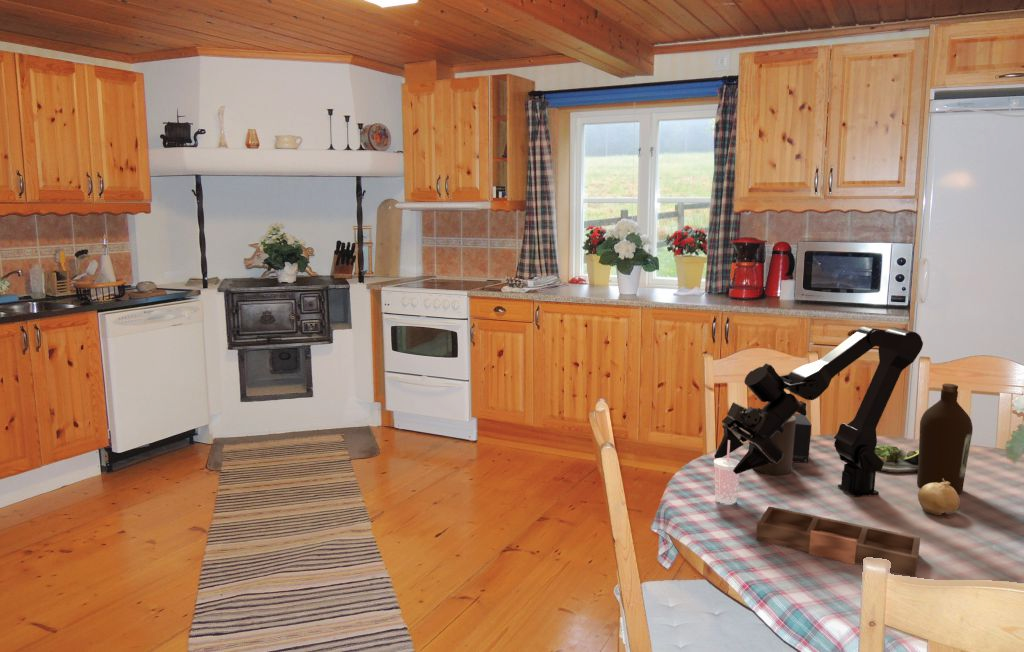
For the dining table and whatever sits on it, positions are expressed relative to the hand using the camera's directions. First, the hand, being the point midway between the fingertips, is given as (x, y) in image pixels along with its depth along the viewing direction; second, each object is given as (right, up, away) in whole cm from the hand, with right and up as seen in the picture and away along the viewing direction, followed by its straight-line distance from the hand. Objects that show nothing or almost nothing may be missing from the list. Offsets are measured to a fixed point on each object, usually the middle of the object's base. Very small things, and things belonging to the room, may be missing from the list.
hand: (724, 465), depth 170 cm
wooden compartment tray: (+16, -12, -21) cm, 29 cm away
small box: (+27, -4, +32) cm, 42 cm away
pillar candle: (+18, -5, +22) cm, 29 cm away
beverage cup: (+1, -8, +2) cm, 9 cm away
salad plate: (+51, -5, +27) cm, 58 cm away
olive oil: (+53, -7, +10) cm, 55 cm away
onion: (+45, -10, -3) cm, 46 cm away
